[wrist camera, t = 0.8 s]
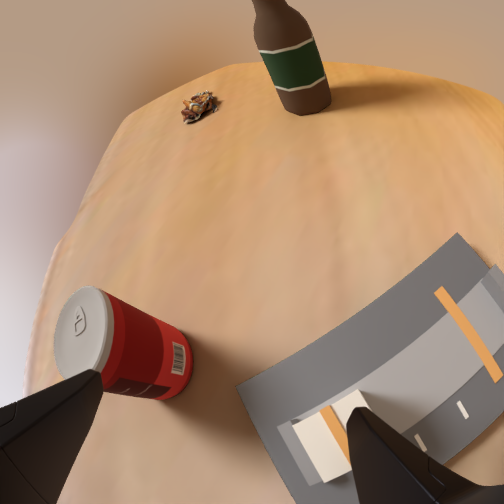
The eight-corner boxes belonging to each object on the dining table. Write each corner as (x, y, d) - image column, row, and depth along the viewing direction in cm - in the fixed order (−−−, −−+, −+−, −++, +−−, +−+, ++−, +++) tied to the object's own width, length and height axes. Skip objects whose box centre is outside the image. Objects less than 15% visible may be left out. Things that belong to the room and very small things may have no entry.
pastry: (209, 91, 54) (201, 79, 51) (220, 111, 47) (212, 96, 44) (182, 107, 55) (174, 95, 52) (188, 129, 48) (178, 115, 45)
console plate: (536, 360, 12) (560, 351, 9) (318, 521, 14) (307, 541, 10) (452, 243, 20) (462, 218, 17) (245, 387, 22) (223, 384, 19)
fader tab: (386, 435, 14) (393, 448, 10) (335, 463, 15) (324, 484, 10) (359, 389, 17) (357, 387, 13) (309, 418, 17) (290, 425, 13)
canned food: (170, 311, 29) (91, 266, 20) (211, 367, 24) (122, 338, 15) (127, 357, 28) (46, 327, 19) (160, 414, 23) (67, 403, 14)
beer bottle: (323, 118, 34) (258, -45, 15) (275, 115, 39) (203, -25, 20) (340, 91, 37) (289, -51, 17) (296, 89, 41) (238, -36, 22)
